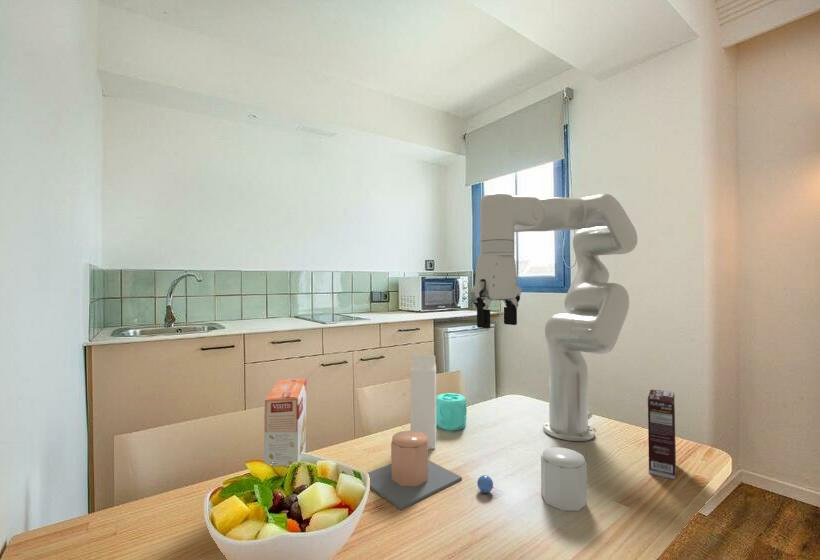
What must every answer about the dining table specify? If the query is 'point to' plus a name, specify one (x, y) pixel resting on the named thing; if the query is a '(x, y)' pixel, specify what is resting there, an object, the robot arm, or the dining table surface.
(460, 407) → the turquoise embossed cylinder
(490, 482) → the marble
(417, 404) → the milk
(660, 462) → the supplement box
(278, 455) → the cracker box
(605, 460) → the dining table surface
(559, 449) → the white lidded canister
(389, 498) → the rubber mat
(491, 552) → the dining table surface
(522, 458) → the dining table surface
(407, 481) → the peach cylinder canister
